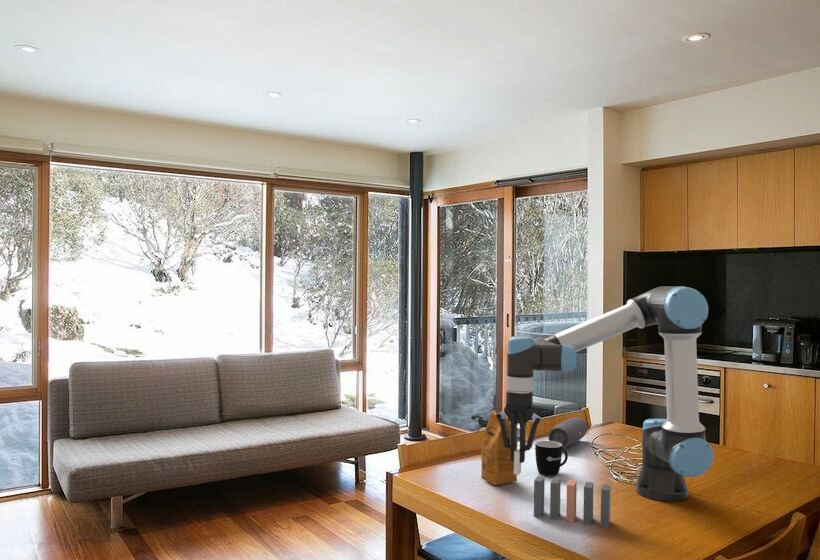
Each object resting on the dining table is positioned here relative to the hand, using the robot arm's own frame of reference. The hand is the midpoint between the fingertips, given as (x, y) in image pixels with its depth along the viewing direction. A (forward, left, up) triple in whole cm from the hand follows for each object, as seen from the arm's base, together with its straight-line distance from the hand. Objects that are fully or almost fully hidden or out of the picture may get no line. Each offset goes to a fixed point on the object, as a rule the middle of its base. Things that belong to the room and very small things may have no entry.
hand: (517, 473), depth 184 cm
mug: (-3, -40, -11) cm, 42 cm away
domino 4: (-20, 0, -11) cm, 23 cm away
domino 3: (-15, 0, -11) cm, 19 cm away
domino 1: (-6, 0, -11) cm, 13 cm away
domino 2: (-11, 0, -11) cm, 15 cm away
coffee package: (+12, -25, -11) cm, 30 cm away
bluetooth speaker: (-3, -79, -11) cm, 80 cm away
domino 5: (-24, 0, -11) cm, 27 cm away
